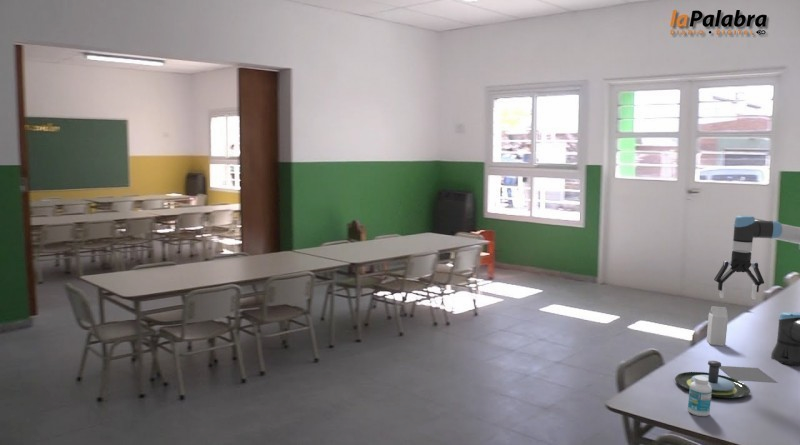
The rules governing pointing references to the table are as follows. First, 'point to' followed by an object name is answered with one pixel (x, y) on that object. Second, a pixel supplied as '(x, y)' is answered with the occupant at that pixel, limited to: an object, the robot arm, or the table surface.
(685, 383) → the plate
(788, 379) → the table surface
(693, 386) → the pill bottle
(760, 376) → the mat
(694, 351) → the table surface
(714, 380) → the lid
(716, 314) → the milk carton
